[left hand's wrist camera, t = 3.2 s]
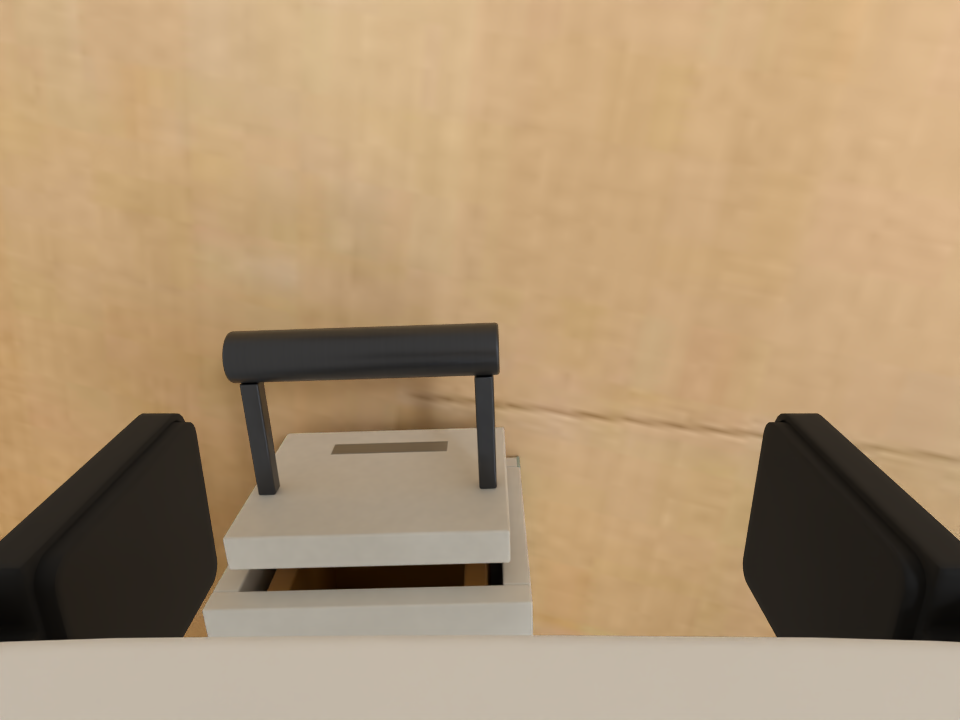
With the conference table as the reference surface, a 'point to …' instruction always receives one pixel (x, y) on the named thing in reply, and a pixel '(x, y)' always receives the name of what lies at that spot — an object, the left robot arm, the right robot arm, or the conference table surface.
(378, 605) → the cabinet
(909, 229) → the conference table surface
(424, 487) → the drawer
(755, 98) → the conference table surface
